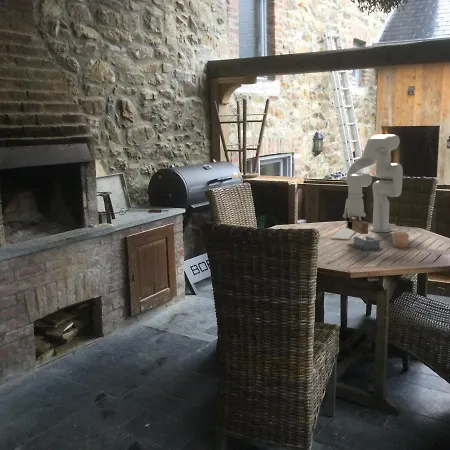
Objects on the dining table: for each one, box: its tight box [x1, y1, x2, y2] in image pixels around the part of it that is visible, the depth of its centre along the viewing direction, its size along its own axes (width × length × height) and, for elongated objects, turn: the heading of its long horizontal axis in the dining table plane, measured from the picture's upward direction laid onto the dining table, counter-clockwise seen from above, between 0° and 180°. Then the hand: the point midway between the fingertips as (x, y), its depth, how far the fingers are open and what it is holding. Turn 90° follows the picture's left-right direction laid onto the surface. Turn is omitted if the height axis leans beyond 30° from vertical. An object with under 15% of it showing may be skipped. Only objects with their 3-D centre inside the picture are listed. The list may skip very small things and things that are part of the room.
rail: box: [345, 217, 370, 235], centre depth 290 cm, size 4×20×6 cm, turn 10°
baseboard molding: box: [330, 227, 356, 241], centre depth 318 cm, size 31×3×12 cm
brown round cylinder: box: [392, 231, 410, 249], centre depth 284 cm, size 8×8×7 cm
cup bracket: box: [349, 235, 384, 252], centre depth 283 cm, size 12×14×5 cm
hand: (353, 228), depth 295 cm, fingers closed on rail, 4 cm apart
